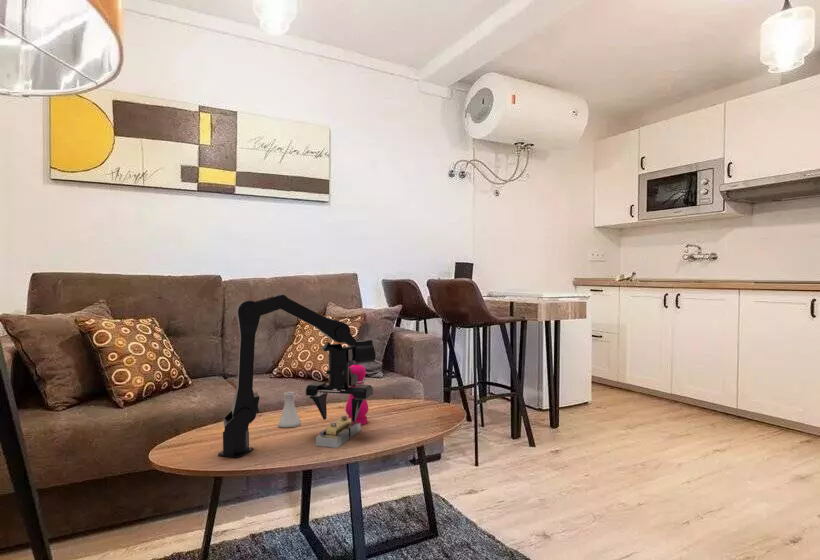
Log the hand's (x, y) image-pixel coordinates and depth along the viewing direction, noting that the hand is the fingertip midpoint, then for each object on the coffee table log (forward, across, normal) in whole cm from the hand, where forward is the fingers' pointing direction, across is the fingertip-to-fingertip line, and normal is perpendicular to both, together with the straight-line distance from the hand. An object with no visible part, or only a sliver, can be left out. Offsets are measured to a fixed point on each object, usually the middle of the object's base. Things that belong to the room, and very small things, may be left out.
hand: (339, 420), depth 134 cm
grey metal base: (+5, 0, 0) cm, 5 cm away
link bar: (+4, 0, 0) cm, 4 cm away
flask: (+5, +21, -8) cm, 23 cm away
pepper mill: (+5, +1, -15) cm, 16 cm away
